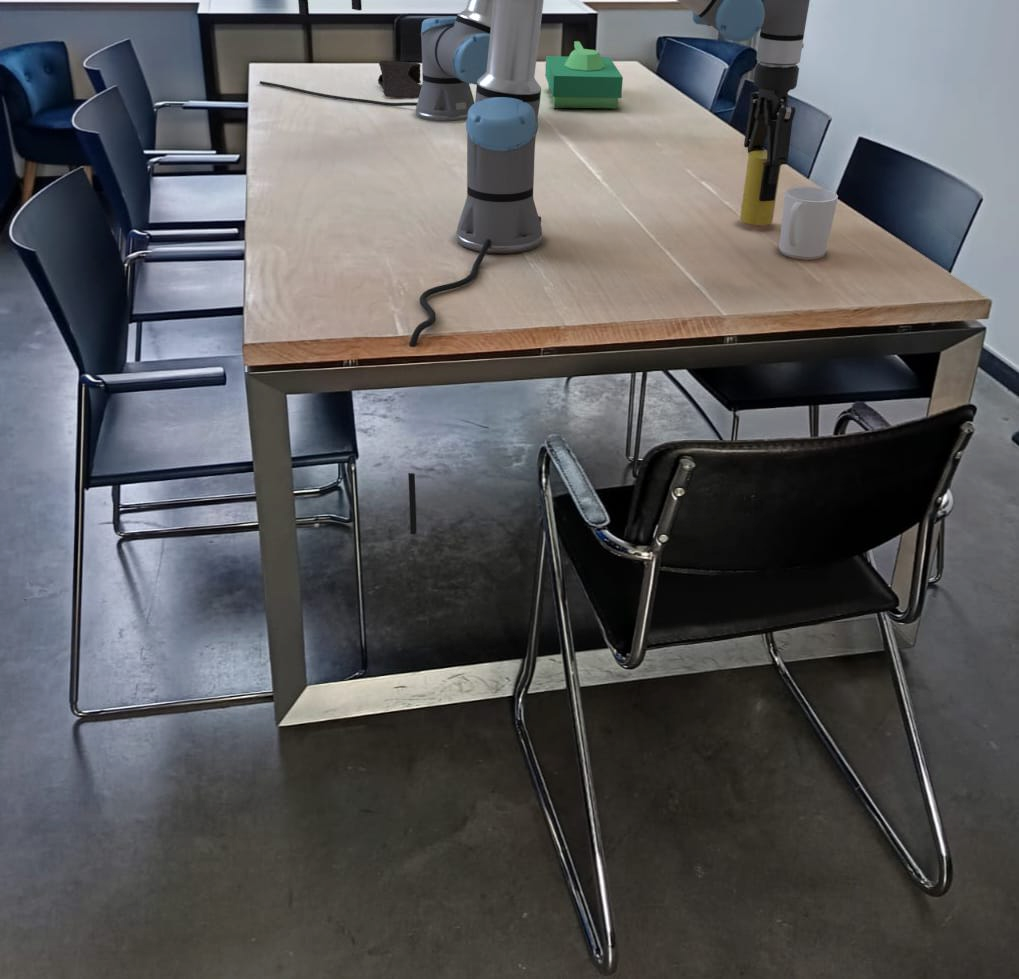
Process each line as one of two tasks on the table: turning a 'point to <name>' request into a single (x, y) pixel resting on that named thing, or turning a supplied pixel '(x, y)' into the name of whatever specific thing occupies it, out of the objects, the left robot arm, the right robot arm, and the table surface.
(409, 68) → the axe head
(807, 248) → the mug
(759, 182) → the canister
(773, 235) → the table surface
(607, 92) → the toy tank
